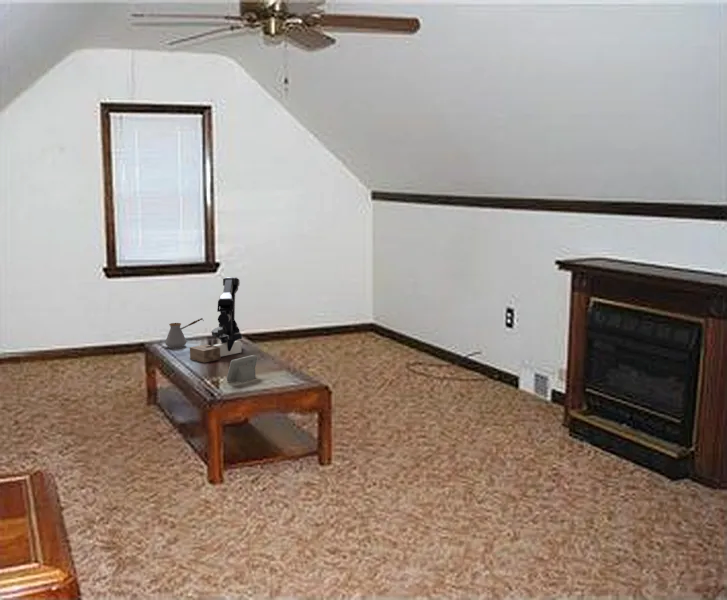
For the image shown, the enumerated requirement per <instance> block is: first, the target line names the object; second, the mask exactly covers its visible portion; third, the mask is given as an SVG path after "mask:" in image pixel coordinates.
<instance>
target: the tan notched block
mask: <svg viewBox="0 0 727 600" xmlns="http://www.w3.org/2000/svg"><path fill="white" fill-rule="evenodd" d="M189 357H190V358H189V360H194V361H196V360H197V362H201V363H207V362H208V363H209V362H214V361H218V360H221V357H220V348H219V347H215V346H214V347H213V345H210V344H201V345H196V346H191V347H189Z"/></svg>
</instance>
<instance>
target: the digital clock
mask: <svg viewBox="0 0 727 600" xmlns="http://www.w3.org/2000/svg"><path fill="white" fill-rule="evenodd" d="M257 362H258V354H257V355H256V354H252V355H247V356H243V357H239V358H235V359H231V361H230V364H229V368H228V370H227V371H228V372H227V376H226V382H228V383H229V382H230V383H231V382H236V383H245V382H249V381H253V380H256V375H257V374H256V365H257Z"/></svg>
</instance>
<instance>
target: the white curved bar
mask: <svg viewBox="0 0 727 600" xmlns="http://www.w3.org/2000/svg"><path fill="white" fill-rule="evenodd" d="M214 346H215V347H219V348H220V358H221V357H225V356H230V355H235V354H239V353H240V354H241V353H242V341H241V340H239V339H237V341H235V342H234V344H233V346H232V348H231V350H230V351H228V346H227V342H226V343H222V342H221V343H215V344H212V347H214Z"/></svg>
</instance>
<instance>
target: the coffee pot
mask: <svg viewBox="0 0 727 600" xmlns="http://www.w3.org/2000/svg"><path fill="white" fill-rule="evenodd" d="M200 321H202V322H204V319H203V317H201V318H198V319H197V320H194V321H192V322H191V323H188V324H186V325H184V326H183V327H181V325H182V323H181V322H172V323H168V324H169V327H170V329H169V331H168V334H167V336H166V339H165V342H164V343H165V345H166V346H167V347H168V348H169V347H170V348H169V349H181V347H182V348H184V346H186V344H187V339H186V337H185V334H184V333H183V330H184V329H185V328H187V327H189V326H192V325H194V324H196V323H198V322H200Z"/></svg>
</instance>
